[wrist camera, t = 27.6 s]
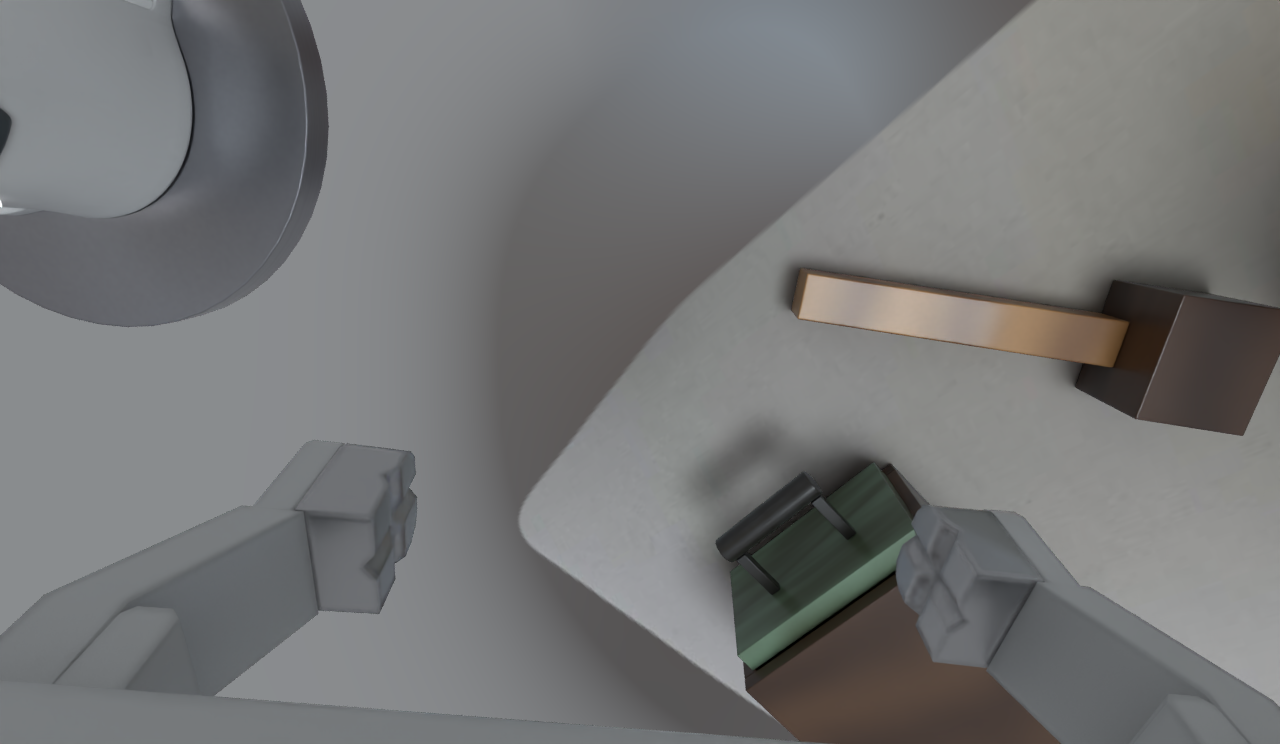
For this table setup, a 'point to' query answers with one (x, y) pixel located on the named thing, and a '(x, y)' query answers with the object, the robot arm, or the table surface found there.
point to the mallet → (1087, 340)
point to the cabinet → (885, 679)
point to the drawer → (811, 558)
